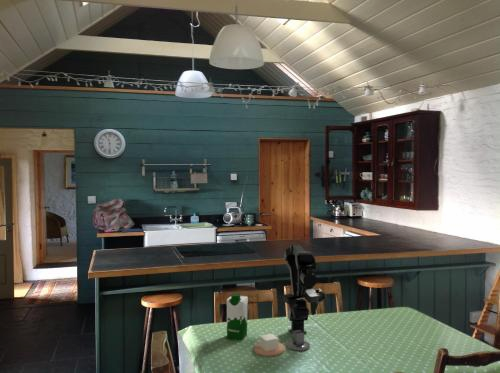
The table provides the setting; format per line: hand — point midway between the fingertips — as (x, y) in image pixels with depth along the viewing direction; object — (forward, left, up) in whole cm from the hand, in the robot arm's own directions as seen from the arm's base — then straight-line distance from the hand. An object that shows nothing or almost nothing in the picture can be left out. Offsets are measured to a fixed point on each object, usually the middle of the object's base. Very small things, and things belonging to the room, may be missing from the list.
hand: (303, 316), depth 189 cm
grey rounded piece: (+2, -4, -12) cm, 13 cm away
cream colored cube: (0, -17, -11) cm, 20 cm away
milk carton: (-18, -24, -12) cm, 32 cm away
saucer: (0, -17, -12) cm, 21 cm away
